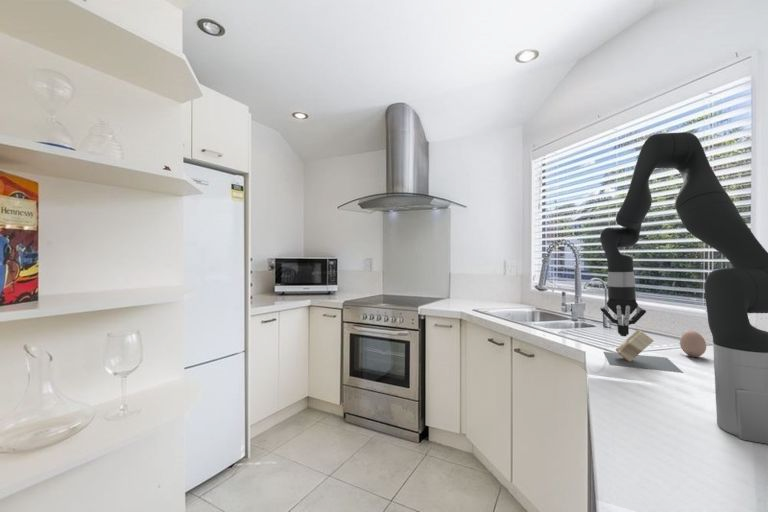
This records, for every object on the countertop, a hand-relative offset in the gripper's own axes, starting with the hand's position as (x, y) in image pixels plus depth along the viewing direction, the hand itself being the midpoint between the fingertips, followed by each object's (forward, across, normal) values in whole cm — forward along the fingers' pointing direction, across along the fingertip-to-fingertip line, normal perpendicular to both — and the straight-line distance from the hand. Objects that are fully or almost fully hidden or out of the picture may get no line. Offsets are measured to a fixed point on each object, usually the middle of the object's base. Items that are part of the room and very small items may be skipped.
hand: (623, 335), depth 107 cm
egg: (+9, +22, +16) cm, 29 cm away
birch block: (+7, -1, 0) cm, 7 cm away
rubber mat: (+9, +4, 0) cm, 10 cm away
